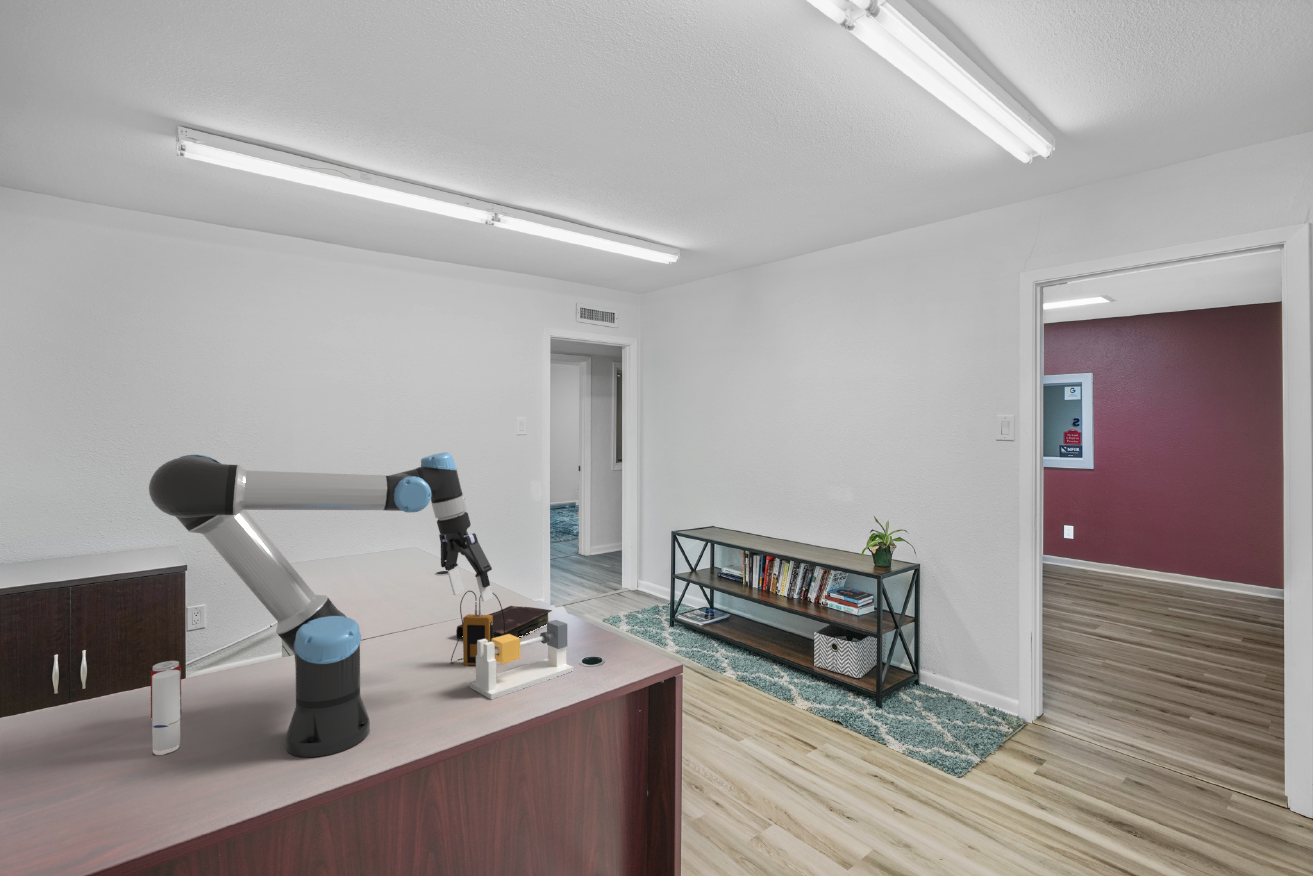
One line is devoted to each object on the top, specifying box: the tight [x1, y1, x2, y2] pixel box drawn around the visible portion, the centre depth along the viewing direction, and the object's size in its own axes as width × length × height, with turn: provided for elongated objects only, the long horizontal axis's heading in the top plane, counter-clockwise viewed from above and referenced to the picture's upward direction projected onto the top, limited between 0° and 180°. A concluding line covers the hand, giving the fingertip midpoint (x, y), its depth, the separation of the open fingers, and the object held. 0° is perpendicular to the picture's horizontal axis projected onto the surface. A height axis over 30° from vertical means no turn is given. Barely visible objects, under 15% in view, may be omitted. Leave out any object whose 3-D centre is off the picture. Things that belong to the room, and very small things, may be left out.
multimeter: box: [450, 590, 505, 666], centre depth 171 cm, size 15×10×20 cm
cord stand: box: [469, 619, 574, 700], centre depth 157 cm, size 24×10×12 cm, turn 135°
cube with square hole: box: [492, 634, 521, 665], centre depth 153 cm, size 5×5×5 cm
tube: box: [151, 670, 181, 751], centre depth 122 cm, size 4×4×15 cm
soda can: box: [150, 660, 182, 719], centre depth 135 cm, size 5×5×12 cm
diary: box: [456, 605, 553, 639], centre depth 196 cm, size 19×25×5 cm
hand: (473, 596), depth 155 cm, fingers open, 13 cm apart
